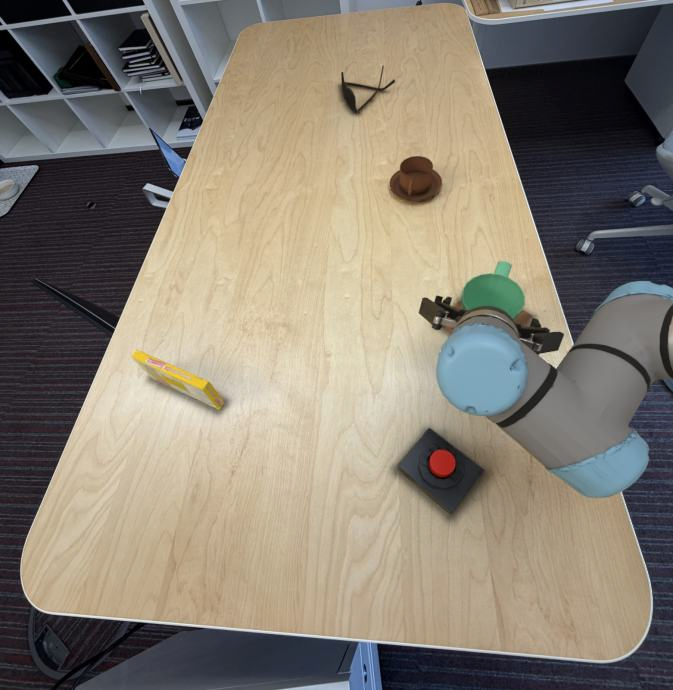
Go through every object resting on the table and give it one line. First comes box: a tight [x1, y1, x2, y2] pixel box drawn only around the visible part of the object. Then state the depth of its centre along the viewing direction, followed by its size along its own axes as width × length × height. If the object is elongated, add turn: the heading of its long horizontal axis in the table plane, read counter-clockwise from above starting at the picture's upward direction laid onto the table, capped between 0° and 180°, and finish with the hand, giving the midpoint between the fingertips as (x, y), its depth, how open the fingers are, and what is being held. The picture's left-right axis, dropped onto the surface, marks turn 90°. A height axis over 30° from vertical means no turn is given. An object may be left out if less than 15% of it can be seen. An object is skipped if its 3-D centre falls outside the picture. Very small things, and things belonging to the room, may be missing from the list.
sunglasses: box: [340, 65, 396, 114], centre depth 119 cm, size 17×14×5 cm
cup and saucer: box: [389, 155, 443, 203], centre depth 95 cm, size 12×12×6 cm
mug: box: [460, 260, 526, 320], centre depth 72 cm, size 15×10×10 cm
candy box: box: [130, 349, 225, 411], centre depth 73 cm, size 16×2×8 cm, turn 64°
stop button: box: [429, 450, 456, 477], centre depth 60 cm, size 4×4×2 cm
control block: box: [397, 427, 485, 515], centre depth 62 cm, size 10×8×4 cm
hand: (488, 315), depth 68 cm, fingers open, 13 cm apart
